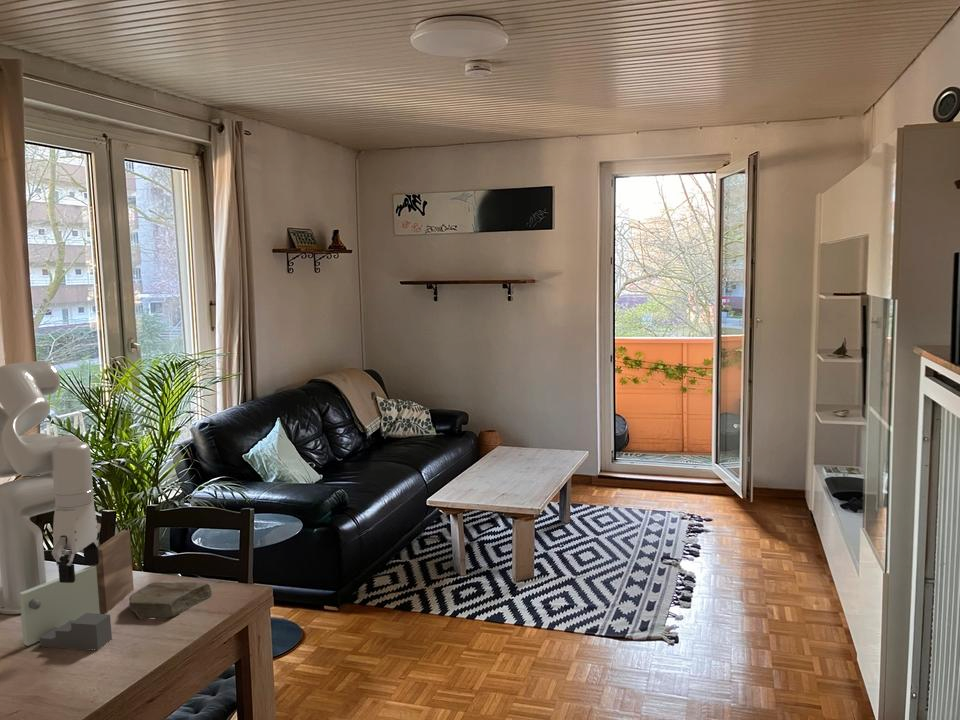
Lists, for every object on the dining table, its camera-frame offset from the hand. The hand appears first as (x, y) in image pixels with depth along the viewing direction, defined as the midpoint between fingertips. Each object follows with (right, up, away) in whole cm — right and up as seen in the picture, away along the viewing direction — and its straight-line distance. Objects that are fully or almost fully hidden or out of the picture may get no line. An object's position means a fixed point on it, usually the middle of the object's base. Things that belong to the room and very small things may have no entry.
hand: (80, 572), depth 172 cm
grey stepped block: (-2, -16, +2) cm, 16 cm away
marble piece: (+11, -14, +20) cm, 27 cm away
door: (-7, -15, +7) cm, 18 cm away
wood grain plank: (-3, -13, +23) cm, 27 cm away
